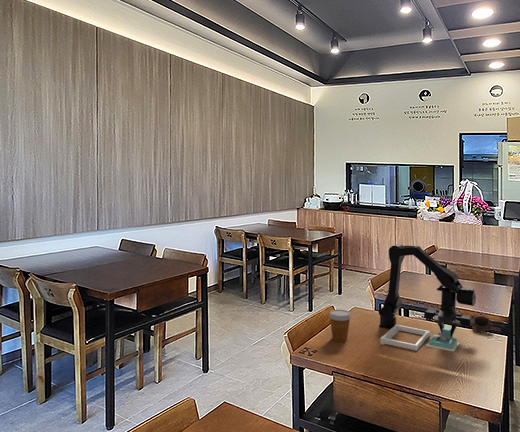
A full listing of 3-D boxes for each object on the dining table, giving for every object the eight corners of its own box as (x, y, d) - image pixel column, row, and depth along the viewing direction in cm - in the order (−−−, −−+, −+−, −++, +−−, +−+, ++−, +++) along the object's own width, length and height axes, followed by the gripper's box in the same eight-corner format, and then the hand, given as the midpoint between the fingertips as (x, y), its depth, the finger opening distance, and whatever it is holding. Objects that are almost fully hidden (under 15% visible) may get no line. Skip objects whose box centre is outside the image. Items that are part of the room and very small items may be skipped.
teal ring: (429, 344, 183) (429, 334, 183) (437, 333, 195) (438, 324, 195) (452, 349, 178) (452, 338, 178) (459, 338, 190) (459, 328, 189)
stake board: (425, 347, 182) (425, 336, 182) (432, 339, 191) (432, 328, 191) (453, 353, 176) (454, 341, 175) (459, 345, 185) (459, 333, 184)
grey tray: (380, 344, 186) (380, 337, 185) (395, 330, 202) (396, 324, 202) (416, 352, 177) (416, 345, 177) (429, 337, 193) (429, 331, 193)
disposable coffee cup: (327, 342, 189) (328, 315, 188) (329, 334, 198) (329, 308, 197) (350, 344, 187) (350, 316, 185) (351, 336, 196) (351, 310, 195)
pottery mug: (497, 333, 200) (497, 320, 195) (483, 344, 197) (483, 332, 193) (474, 319, 209) (473, 307, 205) (460, 330, 207) (459, 318, 202)
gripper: (421, 302, 187) (419, 337, 189) (468, 310, 177) (466, 347, 178) (427, 296, 196) (426, 330, 198) (473, 303, 186) (471, 339, 187)
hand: (447, 336), depth 190 cm, fingers closed on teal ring, 3 cm apart
